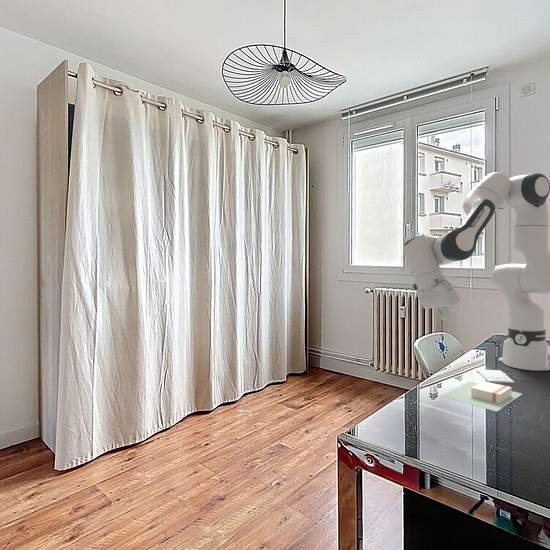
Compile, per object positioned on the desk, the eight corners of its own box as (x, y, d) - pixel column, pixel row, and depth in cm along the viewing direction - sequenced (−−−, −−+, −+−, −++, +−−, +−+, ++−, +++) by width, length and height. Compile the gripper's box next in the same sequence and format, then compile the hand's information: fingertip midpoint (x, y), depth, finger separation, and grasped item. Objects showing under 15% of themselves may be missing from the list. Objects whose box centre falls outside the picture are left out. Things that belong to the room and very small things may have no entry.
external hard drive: (501, 374, 142) (515, 386, 130) (476, 373, 143) (488, 384, 131) (501, 370, 142) (515, 381, 130) (476, 369, 143) (488, 380, 131)
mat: (469, 382, 132) (469, 381, 132) (522, 394, 120) (522, 393, 120) (440, 397, 119) (440, 395, 119) (497, 412, 107) (497, 411, 107)
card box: (483, 380, 124) (511, 387, 118) (483, 389, 124) (511, 395, 118) (471, 387, 118) (499, 394, 112) (471, 396, 119) (499, 403, 112)
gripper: (454, 273, 124) (471, 314, 123) (425, 281, 144) (440, 316, 143) (436, 280, 123) (454, 322, 122) (410, 286, 143) (424, 322, 142)
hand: (446, 319), depth 132 cm, fingers closed
